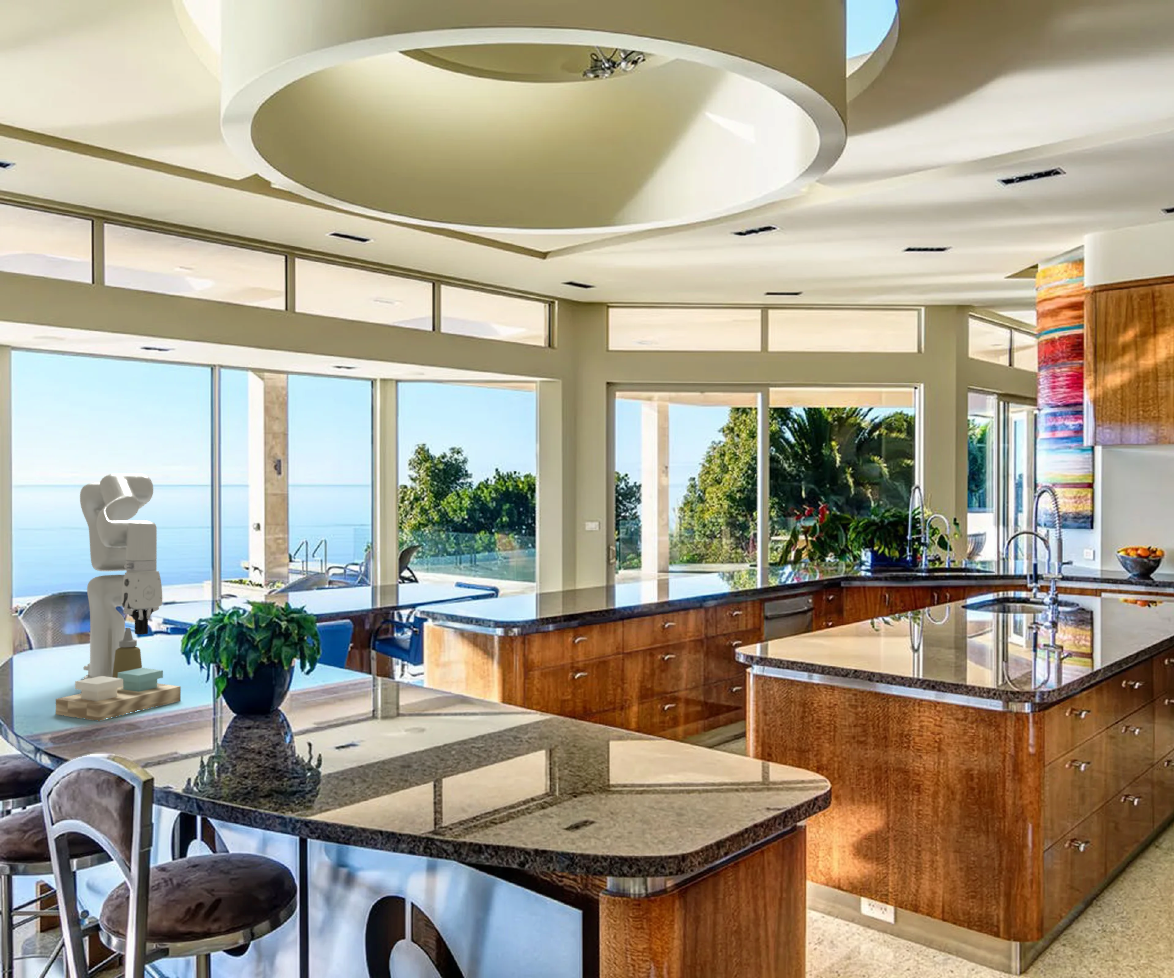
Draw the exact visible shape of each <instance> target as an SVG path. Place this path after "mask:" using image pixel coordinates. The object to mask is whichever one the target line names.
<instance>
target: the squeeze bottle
mask: <svg viewBox="0 0 1174 978" xmlns="http://www.w3.org/2000/svg"><path fill="white" fill-rule="evenodd" d="M119 647H120V648H118V649H117V650H116V651H115V659H114V668H113V676H112V677H113V678H118V673H119V672H124V671H129V670H134V669H138V668H143V664H142V662H143V661H142V655H141V653H142V652H141V649H140V647H138V641H137V639H134V637H133V634H132V630H131V627H125V634H124V638H123V640H121V641H119Z"/></svg>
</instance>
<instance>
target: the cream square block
mask: <svg viewBox="0 0 1174 978" xmlns="http://www.w3.org/2000/svg"><path fill="white" fill-rule="evenodd" d="M118 687H123V679H121V678H113V677H106V676H99V677H94V678H89V679H84V678H83V679H81V680H75V683H74V689H75V690H80V694H81V699H85V700H92V701H101V700H105V699H109V698H114V697H117V688H118Z"/></svg>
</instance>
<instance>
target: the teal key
mask: <svg viewBox="0 0 1174 978" xmlns="http://www.w3.org/2000/svg"><path fill="white" fill-rule="evenodd" d="M118 678H121V679H123V690H131V691H138V692H140V691H144V690H148V689H153V688H157V683H158V679H163V678H164V671H163V669H162V670H161V669H155V668H149V667H148V668H145V667H142V668H138V669H134V670H129V671H124V672H119V673H118Z"/></svg>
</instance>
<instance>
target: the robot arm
mask: <svg viewBox="0 0 1174 978" xmlns="http://www.w3.org/2000/svg"><path fill="white" fill-rule="evenodd" d="M152 481H153V480H151V478H150V477H149V475H146V474H144V473H109V474H107V475H106V476H104V477H102V478H101V480H100V481H99V482H92V483H87V484H85V485H83V486H82V487H81V489H80V493H79V494H80V495H79V502H80V507H81V512H82V515H83V517H84V519H85V522H86V524H87V527H88V534H89V535H88V536H89V552H90V554H89V555H90V562H91V566H92V567H93V569H94V570H95V571H97V572H123V571H125V572H124V574H104V575H99V576H95V577H92V579H90V580H89V581H88V584H87V588H86V593H87V598H88V599H87V600H88V606H89V617H90V618H89V622H90V623H89V624H90V625H89V626H90V627H89V632H90V633H89V663H88V664H87V665H84V666H83V670H84V671H87V673H88V674H86V675H84V677H83V680H84V679H89V678H94V677H99V676H106V677H112V676H113V668H114V659H115V651H116V650H117V649H118V648H120V647H119V641H121V640H123V638H124V634H125V630H126V620H125V618H124V616H123V615H122V614H121V613H120V611H118V610H117V608H118V607H122V608H123V614H124V615H130V616H131V617H132V620H134V634H135V635H148V633H149V620H150V619H151V615H152V614H153V613H154V612H157V611H158V610H159V609H160V607H161V606H162V605H163V588H162V585H163V584H162V578H161V575H160V570H157V568H158V567H157V556H158V554H157V553H158V552H157V549H158V548H157V546H158V545H157V538H158V536H157V534H158V533H157V532H158V531H157V524H155V522H152V521H149V520H146V519H145V520H143V519H142V520H138V519H137V520H133V519H132V518H134V517H135V516H136V515H137V513H138V512H139V510H140V509H141V508H143V507H144V506H145V505H146V504H148V503H149V502H150V500H151V499H152V498H153V495H154V484H153V482H152ZM131 519H132V520H131Z"/></svg>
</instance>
